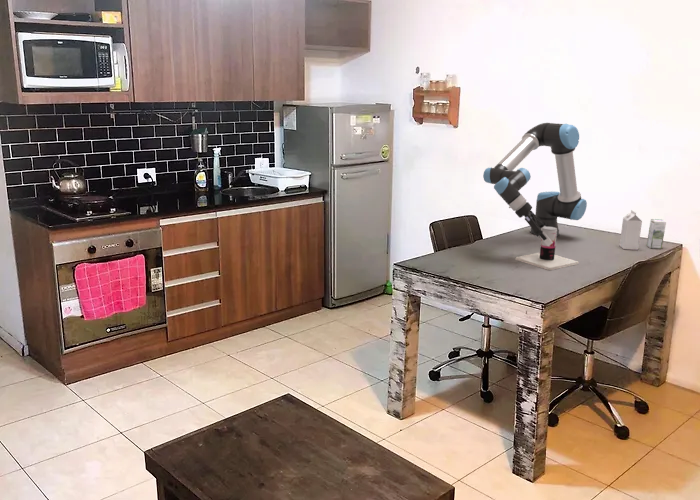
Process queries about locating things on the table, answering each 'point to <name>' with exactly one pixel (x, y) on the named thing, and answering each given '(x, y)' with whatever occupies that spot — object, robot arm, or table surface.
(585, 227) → the table surface
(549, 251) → the beverage can
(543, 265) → the ceramic tile
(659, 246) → the syrup box
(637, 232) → the milk carton
